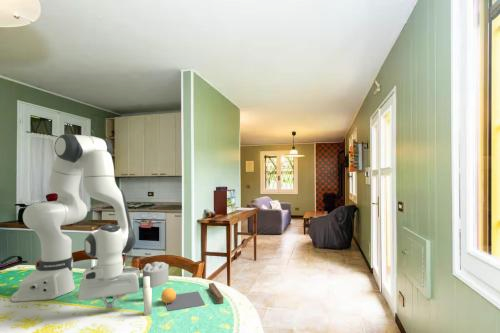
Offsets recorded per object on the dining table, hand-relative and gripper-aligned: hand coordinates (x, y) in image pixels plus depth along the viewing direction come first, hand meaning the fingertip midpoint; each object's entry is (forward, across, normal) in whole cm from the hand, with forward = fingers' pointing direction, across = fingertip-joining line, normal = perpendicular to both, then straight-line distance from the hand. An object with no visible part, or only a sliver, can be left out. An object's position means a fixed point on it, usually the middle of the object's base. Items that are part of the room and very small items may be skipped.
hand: (109, 307), depth 109 cm
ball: (-1, -21, 0) cm, 21 cm away
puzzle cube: (+2, -2, -19) cm, 19 cm away
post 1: (+2, -13, -6) cm, 15 cm away
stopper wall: (+2, -40, 0) cm, 40 cm away
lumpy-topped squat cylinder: (+2, -17, -25) cm, 31 cm away
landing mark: (+2, -27, 0) cm, 27 cm away
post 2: (+2, -13, +6) cm, 15 cm away
